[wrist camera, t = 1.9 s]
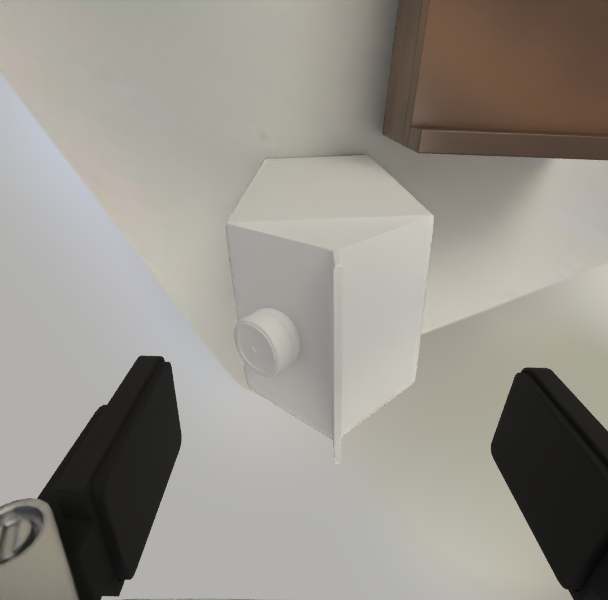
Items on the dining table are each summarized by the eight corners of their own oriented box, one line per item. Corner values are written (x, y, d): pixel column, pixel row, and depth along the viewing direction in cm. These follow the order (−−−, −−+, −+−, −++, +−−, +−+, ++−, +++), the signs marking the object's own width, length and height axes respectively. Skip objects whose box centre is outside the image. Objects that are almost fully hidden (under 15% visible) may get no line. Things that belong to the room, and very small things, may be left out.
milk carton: (369, 153, 26) (485, 260, 9) (365, 253, 30) (446, 462, 13) (264, 158, 26) (192, 271, 10) (272, 256, 30) (230, 468, 13)
